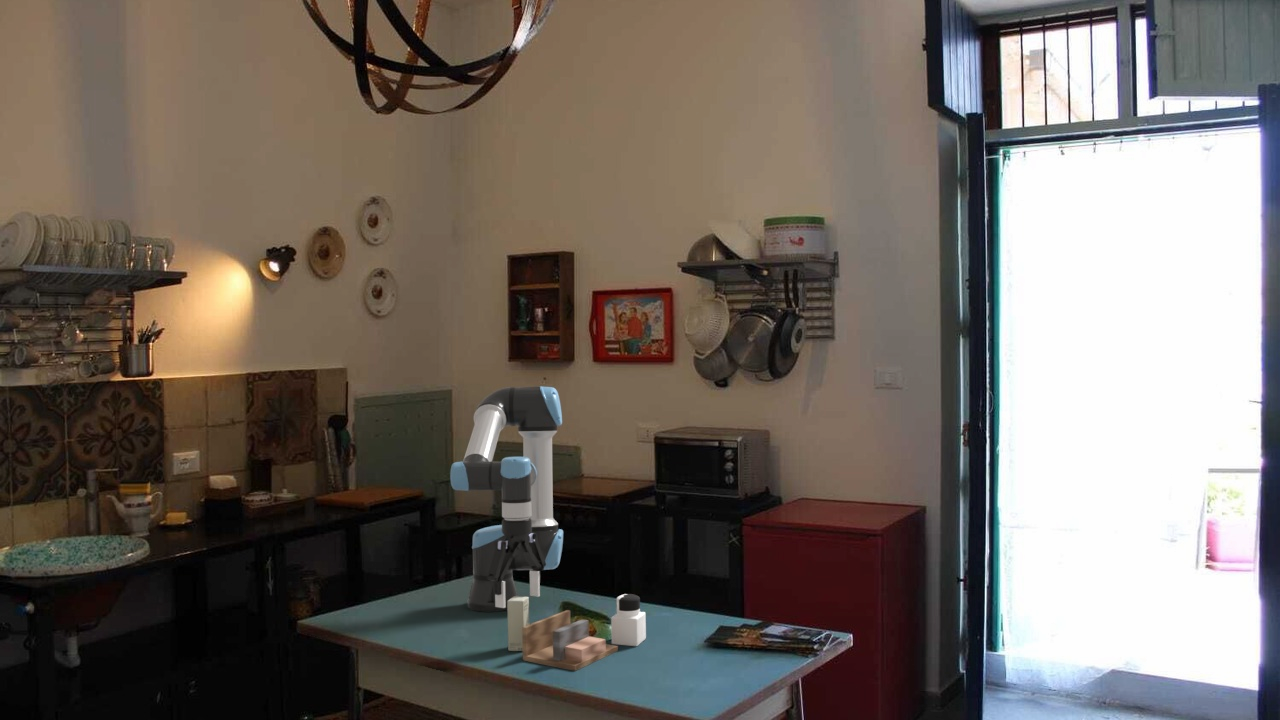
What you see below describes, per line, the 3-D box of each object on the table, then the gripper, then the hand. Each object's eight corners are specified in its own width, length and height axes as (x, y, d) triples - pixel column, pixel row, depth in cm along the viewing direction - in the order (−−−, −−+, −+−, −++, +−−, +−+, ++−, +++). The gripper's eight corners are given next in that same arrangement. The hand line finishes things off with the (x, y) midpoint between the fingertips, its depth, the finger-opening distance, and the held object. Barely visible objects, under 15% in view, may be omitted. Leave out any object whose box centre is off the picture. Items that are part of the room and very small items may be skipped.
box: (524, 652, 258) (523, 601, 258) (507, 651, 259) (506, 600, 259) (530, 645, 263) (529, 596, 263) (514, 645, 264) (513, 595, 264)
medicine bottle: (646, 638, 268) (645, 593, 268) (637, 646, 261) (636, 600, 261) (620, 636, 270) (620, 591, 270) (611, 644, 264) (610, 598, 263)
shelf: (567, 641, 267) (566, 610, 266) (617, 650, 258) (617, 618, 258) (522, 660, 252) (522, 627, 251) (575, 670, 243) (574, 636, 243)
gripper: (536, 510, 273) (537, 589, 273) (472, 524, 252) (473, 610, 252) (558, 512, 269) (559, 593, 269) (495, 526, 248) (496, 614, 248)
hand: (518, 601), depth 261 cm, fingers open, 13 cm apart
